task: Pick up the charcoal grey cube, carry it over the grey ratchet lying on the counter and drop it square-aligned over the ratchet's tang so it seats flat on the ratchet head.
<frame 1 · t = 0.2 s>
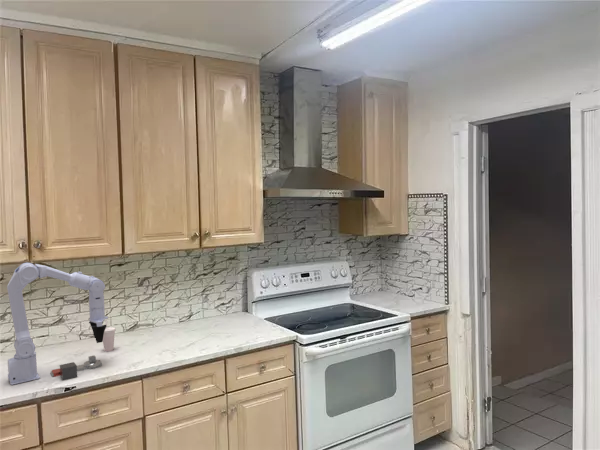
hand: (98, 339, 191), 10 cm above the counter, tool pointing down, fingers open, 7 cm apart
charcoal grey cube: (68, 376, 177), on the counter
smoothie: (109, 350, 208), on the counter
ratchet: (76, 370, 185), on the counter
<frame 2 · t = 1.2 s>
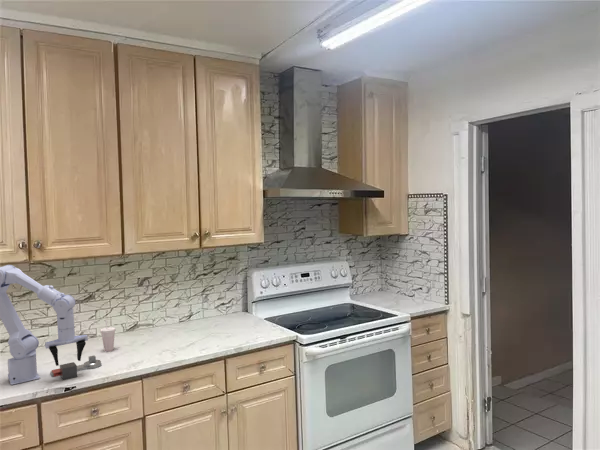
hand: (68, 362, 177), 6 cm above the counter, tool pointing down, fingers open, 7 cm apart
nothing on the counter moved.
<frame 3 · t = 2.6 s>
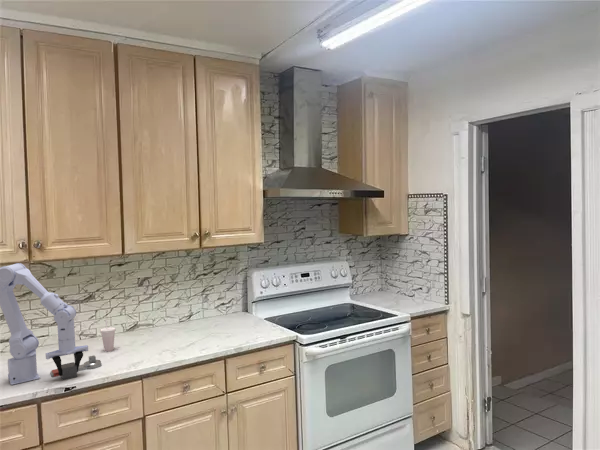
hand: (68, 373, 177), 1 cm above the counter, tool pointing down, fingers closed on charcoal grey cube, 5 cm apart
charcoal grey cube: (68, 376, 177), on the counter, touching gripper
everything else where it was.
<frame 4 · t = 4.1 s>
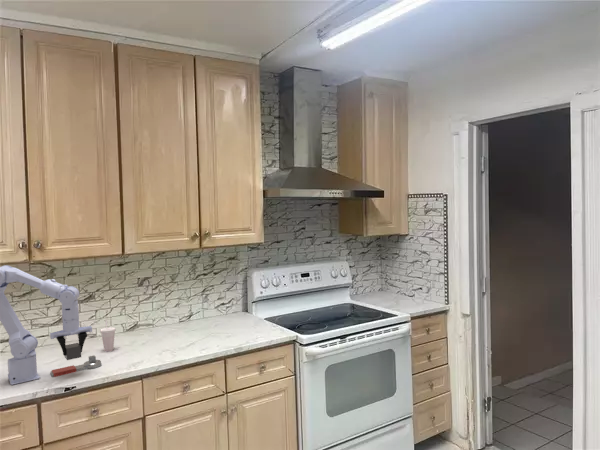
hand: (72, 353, 179), 8 cm above the counter, tool pointing down, fingers closed on charcoal grey cube, 5 cm apart
charcoal grey cube: (72, 357, 179), point 7 cm above the counter, touching gripper
everything else where it was.
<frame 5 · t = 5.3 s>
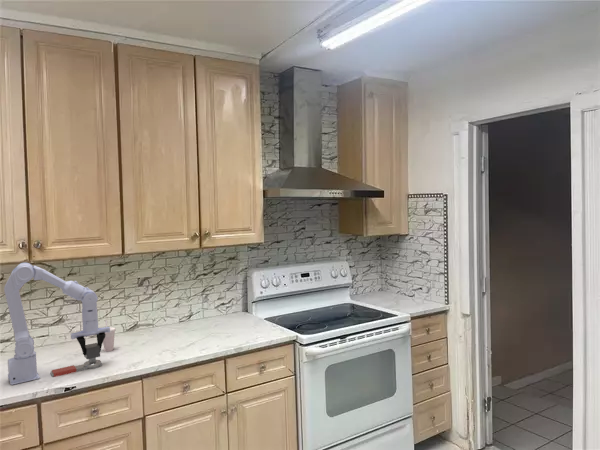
hand: (91, 352, 188), 6 cm above the counter, tool pointing down, fingers closed on charcoal grey cube, 5 cm apart
charcoal grey cube: (92, 356, 188), point 4 cm above the counter, touching gripper
everything else where it was.
when the fingers open (4 cm above the counter, at t = 6.1 s): charcoal grey cube drops 1 cm, resting on ratchet.
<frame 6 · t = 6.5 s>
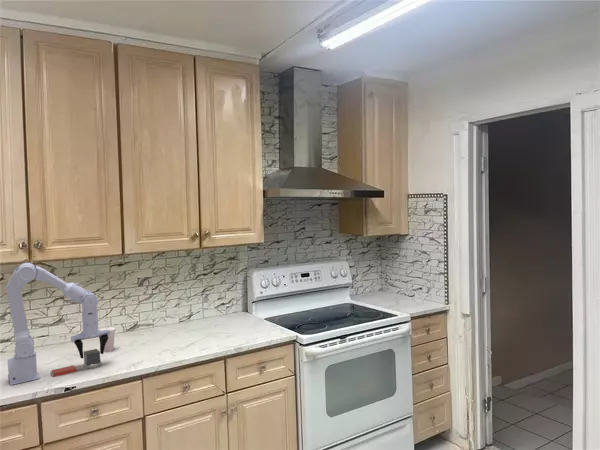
hand: (92, 355, 188), 4 cm above the counter, tool pointing down, fingers open, 7 cm apart
charcoal grey cube: (92, 362, 188), point 2 cm above the counter, touching ratchet
ratchet: (76, 370, 185), on the counter, touching charcoal grey cube
everything else where it was.
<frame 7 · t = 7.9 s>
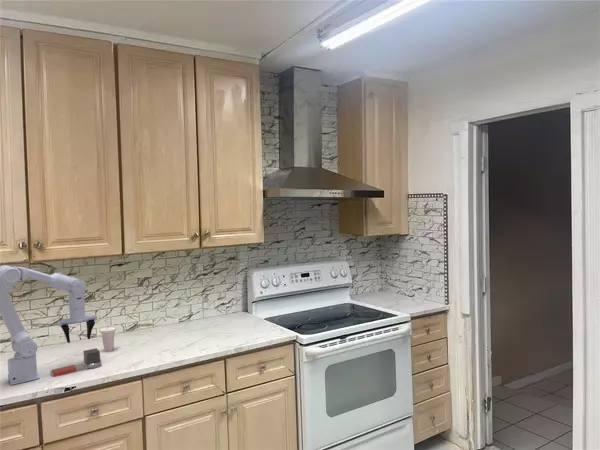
hand: (78, 340, 190), 10 cm above the counter, tool pointing down, fingers open, 7 cm apart
nothing on the counter moved.
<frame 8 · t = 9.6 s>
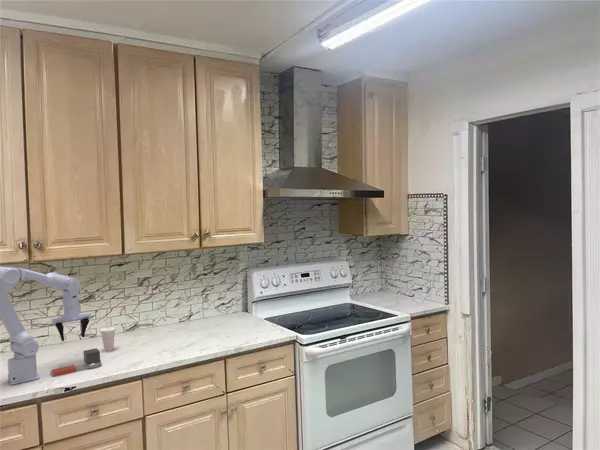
hand: (72, 338, 192), 10 cm above the counter, tool pointing down, fingers open, 7 cm apart
nothing on the counter moved.
at the end: charcoal grey cube 0.2 cm from the target spot on the ratchet, point 1.8 cm above the ratchet's base; charcoal grey cube tilted 0°; the gripper is holding nothing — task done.
